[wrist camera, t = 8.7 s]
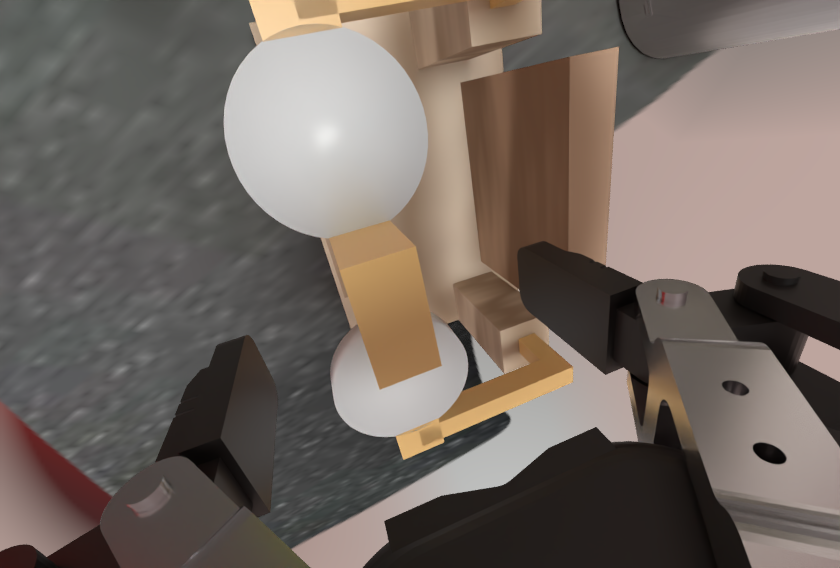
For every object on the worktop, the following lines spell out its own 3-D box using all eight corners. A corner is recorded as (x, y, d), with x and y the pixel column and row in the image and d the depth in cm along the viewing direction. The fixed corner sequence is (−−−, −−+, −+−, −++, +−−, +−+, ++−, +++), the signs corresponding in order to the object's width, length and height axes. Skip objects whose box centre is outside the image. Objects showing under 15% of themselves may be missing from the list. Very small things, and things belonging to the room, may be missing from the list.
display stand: (484, -6, 20) (647, -115, 11) (508, 290, 29) (609, 369, 19) (252, 30, 17) (208, -71, 8) (356, 342, 26) (390, 461, 17)
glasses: (511, -41, 13) (667, -157, 7) (535, 351, 21) (617, 428, 15) (186, 9, 10) (82, -102, 5) (354, 423, 19) (378, 540, 13)
